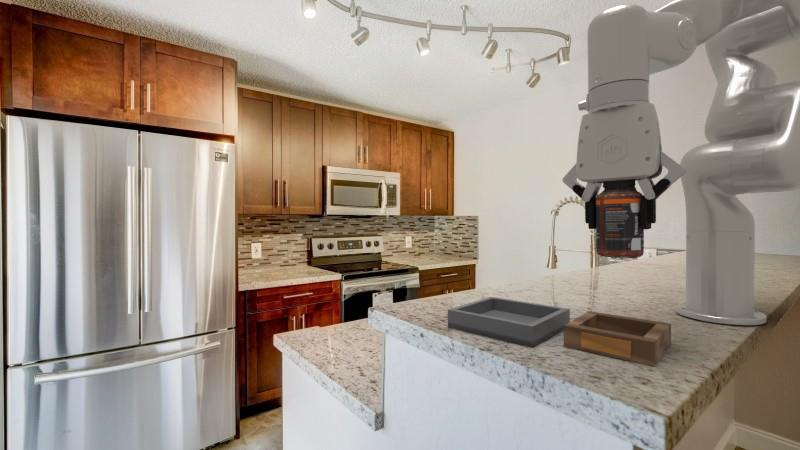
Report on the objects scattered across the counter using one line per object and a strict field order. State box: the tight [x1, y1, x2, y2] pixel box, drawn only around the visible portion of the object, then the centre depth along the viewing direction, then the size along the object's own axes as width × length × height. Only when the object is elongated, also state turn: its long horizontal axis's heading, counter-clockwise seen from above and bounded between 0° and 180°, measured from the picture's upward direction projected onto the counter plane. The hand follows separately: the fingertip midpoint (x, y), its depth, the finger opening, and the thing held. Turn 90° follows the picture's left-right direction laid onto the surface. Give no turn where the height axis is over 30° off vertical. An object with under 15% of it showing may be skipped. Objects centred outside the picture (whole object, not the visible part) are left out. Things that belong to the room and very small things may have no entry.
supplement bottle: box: [595, 179, 645, 259], centre depth 55 cm, size 6×6×11 cm
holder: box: [563, 310, 672, 367], centre depth 55 cm, size 11×11×3 cm
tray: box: [447, 296, 571, 348], centre depth 64 cm, size 14×15×3 cm
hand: (619, 227), depth 55 cm, fingers closed on supplement bottle, 6 cm apart
